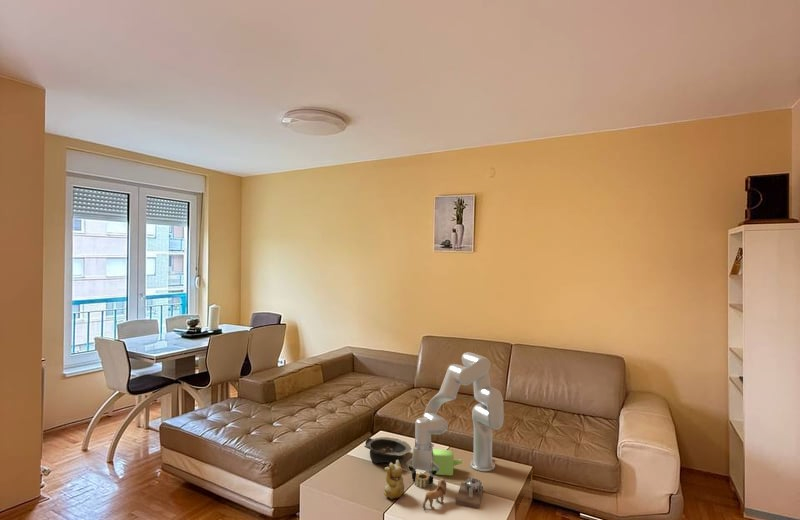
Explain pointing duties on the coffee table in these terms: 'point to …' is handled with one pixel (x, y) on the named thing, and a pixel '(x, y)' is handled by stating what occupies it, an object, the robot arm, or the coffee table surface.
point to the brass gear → (422, 480)
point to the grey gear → (473, 485)
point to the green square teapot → (445, 461)
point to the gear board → (468, 497)
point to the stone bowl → (387, 449)
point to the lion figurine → (436, 494)
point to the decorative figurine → (394, 481)
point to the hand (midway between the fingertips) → (422, 481)
